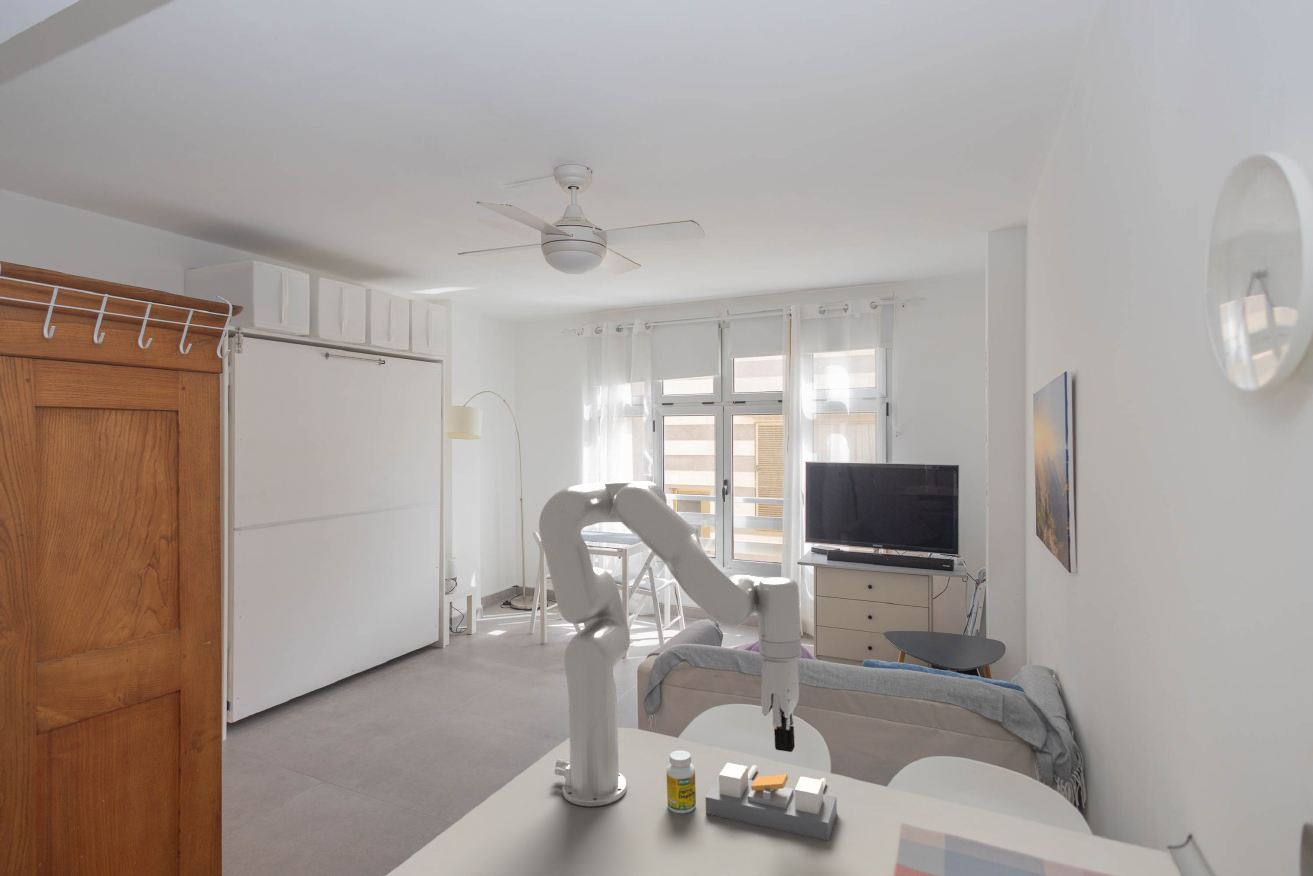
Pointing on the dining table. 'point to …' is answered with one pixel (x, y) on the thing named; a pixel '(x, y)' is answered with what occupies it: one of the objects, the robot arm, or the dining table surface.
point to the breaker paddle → (769, 782)
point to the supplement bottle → (681, 783)
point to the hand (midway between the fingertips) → (784, 748)
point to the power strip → (773, 803)
